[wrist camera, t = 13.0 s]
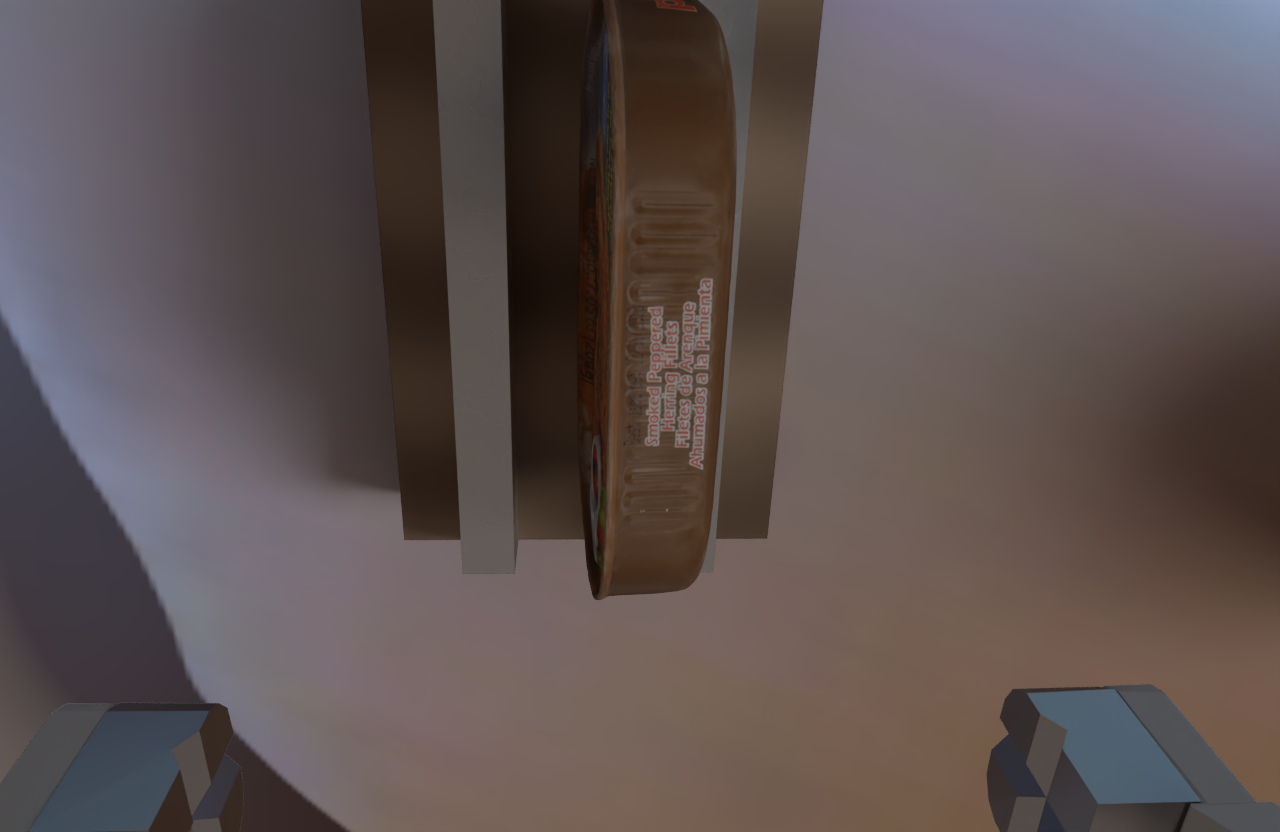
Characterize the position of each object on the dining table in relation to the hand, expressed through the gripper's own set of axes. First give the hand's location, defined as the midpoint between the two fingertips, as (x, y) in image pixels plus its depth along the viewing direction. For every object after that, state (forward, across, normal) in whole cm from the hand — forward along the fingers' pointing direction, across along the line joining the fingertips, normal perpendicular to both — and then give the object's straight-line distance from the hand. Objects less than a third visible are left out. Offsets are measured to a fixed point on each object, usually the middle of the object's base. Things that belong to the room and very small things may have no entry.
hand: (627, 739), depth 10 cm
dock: (+22, 0, 0) cm, 22 cm away
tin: (+19, -1, 0) cm, 19 cm away
